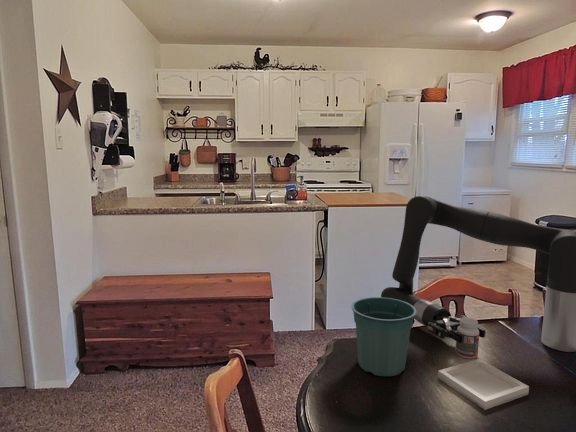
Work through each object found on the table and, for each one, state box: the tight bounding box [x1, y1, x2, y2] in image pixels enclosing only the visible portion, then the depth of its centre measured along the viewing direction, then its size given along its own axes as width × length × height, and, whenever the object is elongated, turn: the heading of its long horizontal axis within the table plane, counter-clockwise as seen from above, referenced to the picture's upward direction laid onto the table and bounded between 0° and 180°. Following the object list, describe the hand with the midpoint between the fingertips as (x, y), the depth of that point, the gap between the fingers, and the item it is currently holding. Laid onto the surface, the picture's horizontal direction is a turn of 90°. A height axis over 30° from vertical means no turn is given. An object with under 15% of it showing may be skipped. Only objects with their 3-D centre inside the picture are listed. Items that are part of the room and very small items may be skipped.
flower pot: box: [350, 296, 416, 377], centre depth 108 cm, size 16×16×16 cm
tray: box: [437, 358, 530, 411], centre depth 99 cm, size 14×14×2 cm
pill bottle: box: [455, 316, 480, 360], centre depth 114 cm, size 6×6×10 cm
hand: (473, 337), depth 112 cm, fingers open, 7 cm apart
